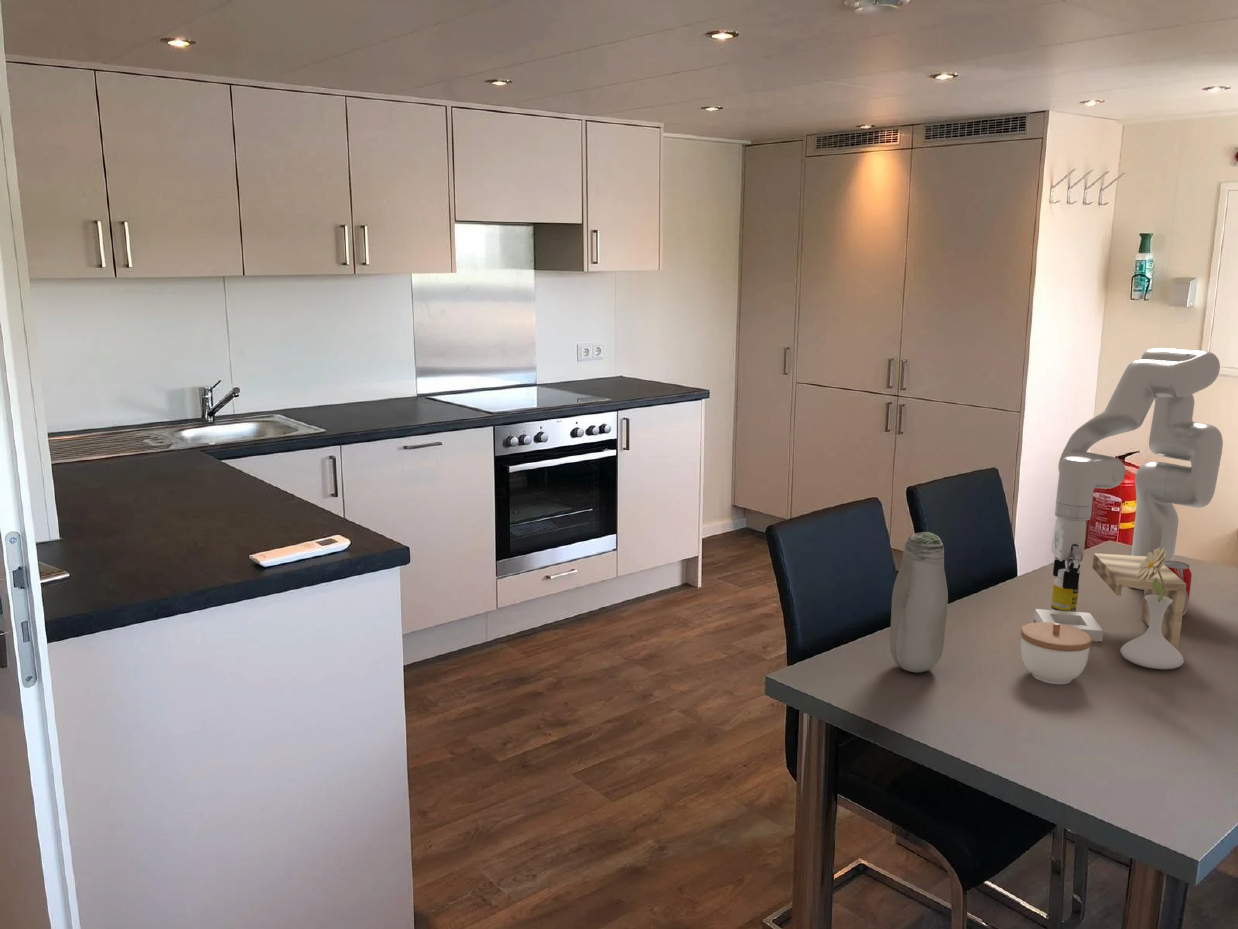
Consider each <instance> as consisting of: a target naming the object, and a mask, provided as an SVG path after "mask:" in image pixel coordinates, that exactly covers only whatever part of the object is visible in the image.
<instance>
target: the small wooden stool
mask: <svg viewBox="0 0 1238 929" xmlns="http://www.w3.org/2000/svg"><path fill="white" fill-rule="evenodd" d="M1146 557H1147V556H1131V554H1130V555H1126V554H1114V553H1113V554H1111V553H1093V559H1092V566H1091V567H1092V569H1093V570H1094V572H1095V573H1096V574H1097V575H1098V576H1099V578H1101V580H1102V581H1103V582H1104V583H1105V584H1106V585H1107V586H1108V587H1109V588H1110V590H1112V591H1113V593H1114V595H1116V596H1119V597H1121V596H1122V590H1123V588H1134V589H1136V588H1145V589H1144V590H1143V600H1142V605H1141V606H1142V607H1141V616H1140V618H1141V620H1142V619H1143V620H1142V621H1143V622H1144V623H1145V624H1146V626H1147V627H1148V626H1149V621H1150V611H1149V606H1148V603H1147V601H1146V599H1145V598H1144V597H1145V596H1146V595H1159V593H1158V592H1157V591H1156V590H1155V589H1154V588H1153V587H1152V582H1153V581H1154V579H1155V578H1157V579H1158V581H1159V582H1160V583H1161V585H1162V582H1161V579H1160V576H1159V574H1158V572H1157V573H1156V575H1155V576H1153V577H1152V578H1151V579H1150V580H1149V579H1148V580H1147V581H1146V582H1145V581H1143V582H1141V581H1138V579H1139V578H1140V577H1136V575H1137V574H1138V571H1140V570H1141V569H1142V568H1140V567H1139V566H1140V564H1141V563H1144V562H1145V558H1146ZM1160 573H1161V576H1162V578H1163V582H1164V588H1166V590H1165V592H1164V593H1163V596H1164V597H1168V598H1170V599H1172V600H1173V602H1172V603H1171V604H1170V605H1169V606H1168V607H1167V609H1166V610H1165V613H1164V616H1163V620H1162V627H1161V630H1162V635H1163V636H1164V638H1165V639H1166V640H1167V641H1168V642H1169V643H1170V644H1172V645H1173V646H1174V647H1175V648H1176V649H1177V650H1178V651H1179V647H1180V646H1179V645H1180V638H1181V631H1182V622H1183V616H1184V615H1183V608H1184V600H1185V592H1186V583H1185V582H1183V581H1182V580H1181V579H1180V578H1179V577H1178V576H1177V575H1175V574H1174V573H1173V572H1172V571H1171V570H1170V569H1169V568H1167V567H1166V566H1165V565H1164V564H1163V566H1162V567H1161V570H1160Z"/></svg>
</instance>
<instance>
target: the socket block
mask: <svg viewBox="0 0 1238 929" xmlns="http://www.w3.org/2000/svg"><path fill="white" fill-rule="evenodd" d="M1034 619H1035V620H1034V621H1035V622H1051V623H1059V624H1064V625H1069V626H1072V627H1075V628H1078V629H1080V630H1083V631H1084V632H1086V633H1088V634H1089V635H1090V637H1091V639H1092V641H1091V642H1098V641H1100V643H1101V641H1102V642H1103V637H1104V630H1103V628H1102V627H1101V626H1100V625H1099V624H1098V622H1097V621H1096V620H1095V618H1094V617H1093V615H1092V614H1091V613H1090V612H1084V611H1076V612H1071V611H1057V610H1051V609H1043V608H1042V609H1041V608H1035V609H1034Z"/></svg>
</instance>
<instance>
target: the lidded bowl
mask: <svg viewBox="0 0 1238 929" xmlns="http://www.w3.org/2000/svg"><path fill="white" fill-rule="evenodd" d="M1092 642H1093V641H1092V639H1091V637H1090V635H1089V634H1088V633H1086V632H1084V631H1083V630H1080V629H1078V628H1075V627H1072V626H1069V625H1064V624H1059V623H1051V622H1036V621H1035V622H1029V623H1026V624H1024V625H1022V626H1021V628H1020V654H1021V655H1020V656H1021V658H1022V662H1023V664H1024V665H1025V667H1026V668H1027V670H1028V671H1029V672H1030V673H1031V676H1032V677H1033V678H1034V679H1036V680H1038V681H1040V682H1042V683H1045V684H1052V685H1067V684H1069V683H1070V684H1071V682H1072V680H1075V679H1076V678H1077V677H1079V675H1081V674H1082V672H1084V670H1085V668H1086V666H1087V663H1088V660H1089V656H1090V650H1091V645H1092Z"/></svg>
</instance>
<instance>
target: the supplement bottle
mask: <svg viewBox="0 0 1238 929" xmlns="http://www.w3.org/2000/svg"><path fill="white" fill-rule="evenodd" d="M1064 571H1066V569H1060V570H1058V577H1057V578H1055V579H1053V585H1052V586H1053V587H1052V593H1051V594H1052V596H1051V604H1050V610H1057V611H1071V612H1077V606H1078V598H1079V597H1078V596H1079V589H1080V584H1079V583H1078V589H1077V590H1075V589H1064V588H1063V587H1062V585H1063V576H1064Z"/></svg>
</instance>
